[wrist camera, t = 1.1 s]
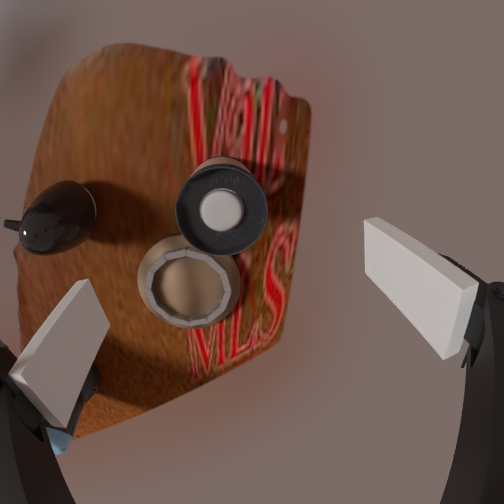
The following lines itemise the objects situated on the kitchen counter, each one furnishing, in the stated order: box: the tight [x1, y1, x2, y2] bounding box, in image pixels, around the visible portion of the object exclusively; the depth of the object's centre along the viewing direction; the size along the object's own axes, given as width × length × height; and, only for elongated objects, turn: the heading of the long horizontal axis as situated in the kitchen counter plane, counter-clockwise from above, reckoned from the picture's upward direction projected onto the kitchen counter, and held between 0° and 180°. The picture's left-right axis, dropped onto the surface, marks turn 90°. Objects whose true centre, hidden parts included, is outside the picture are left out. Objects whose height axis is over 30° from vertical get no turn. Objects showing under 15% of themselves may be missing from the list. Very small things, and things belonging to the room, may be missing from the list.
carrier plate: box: [137, 233, 241, 328], centre depth 45 cm, size 17×17×3 cm
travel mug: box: [175, 156, 268, 256], centre depth 31 cm, size 8×8×20 cm
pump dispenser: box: [4, 180, 96, 256], centre depth 32 cm, size 10×10×15 cm
